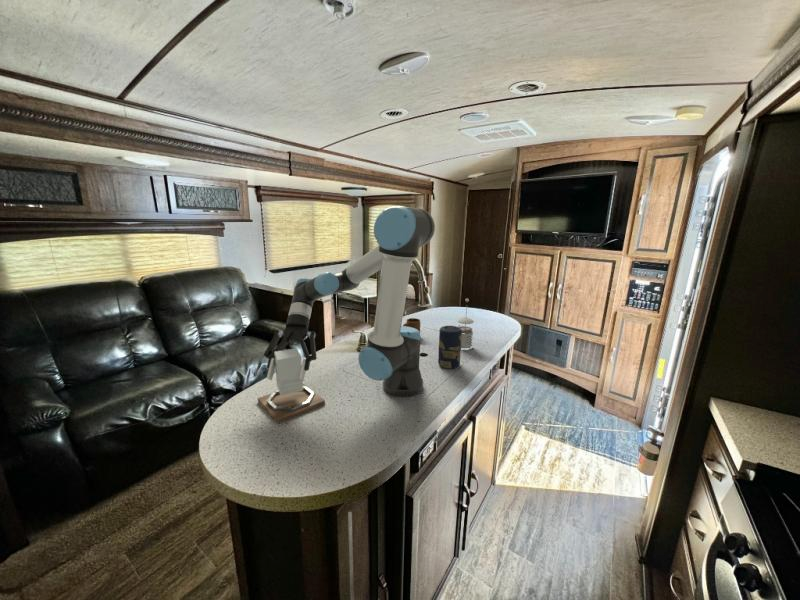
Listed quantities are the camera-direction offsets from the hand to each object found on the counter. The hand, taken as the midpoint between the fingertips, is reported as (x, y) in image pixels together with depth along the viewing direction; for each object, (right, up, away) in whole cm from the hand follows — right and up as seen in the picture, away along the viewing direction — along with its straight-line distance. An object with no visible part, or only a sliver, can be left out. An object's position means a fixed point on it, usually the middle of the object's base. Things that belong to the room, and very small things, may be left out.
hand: (285, 379), depth 102 cm
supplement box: (0, -4, +4) cm, 6 cm away
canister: (+58, -3, +37) cm, 69 cm away
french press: (+68, +2, +57) cm, 89 cm away
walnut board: (0, -9, +5) cm, 11 cm away
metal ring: (0, -8, +5) cm, 9 cm away
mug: (+42, +5, +69) cm, 81 cm away
